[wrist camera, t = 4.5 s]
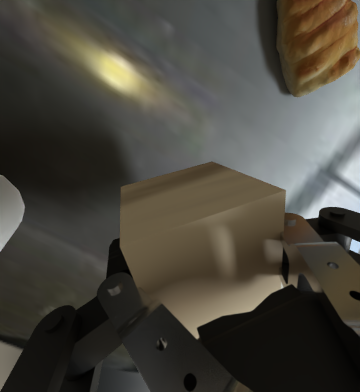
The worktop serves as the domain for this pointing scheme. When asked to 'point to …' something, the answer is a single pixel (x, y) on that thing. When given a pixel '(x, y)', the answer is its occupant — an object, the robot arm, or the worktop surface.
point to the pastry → (316, 42)
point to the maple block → (203, 241)
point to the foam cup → (9, 210)
